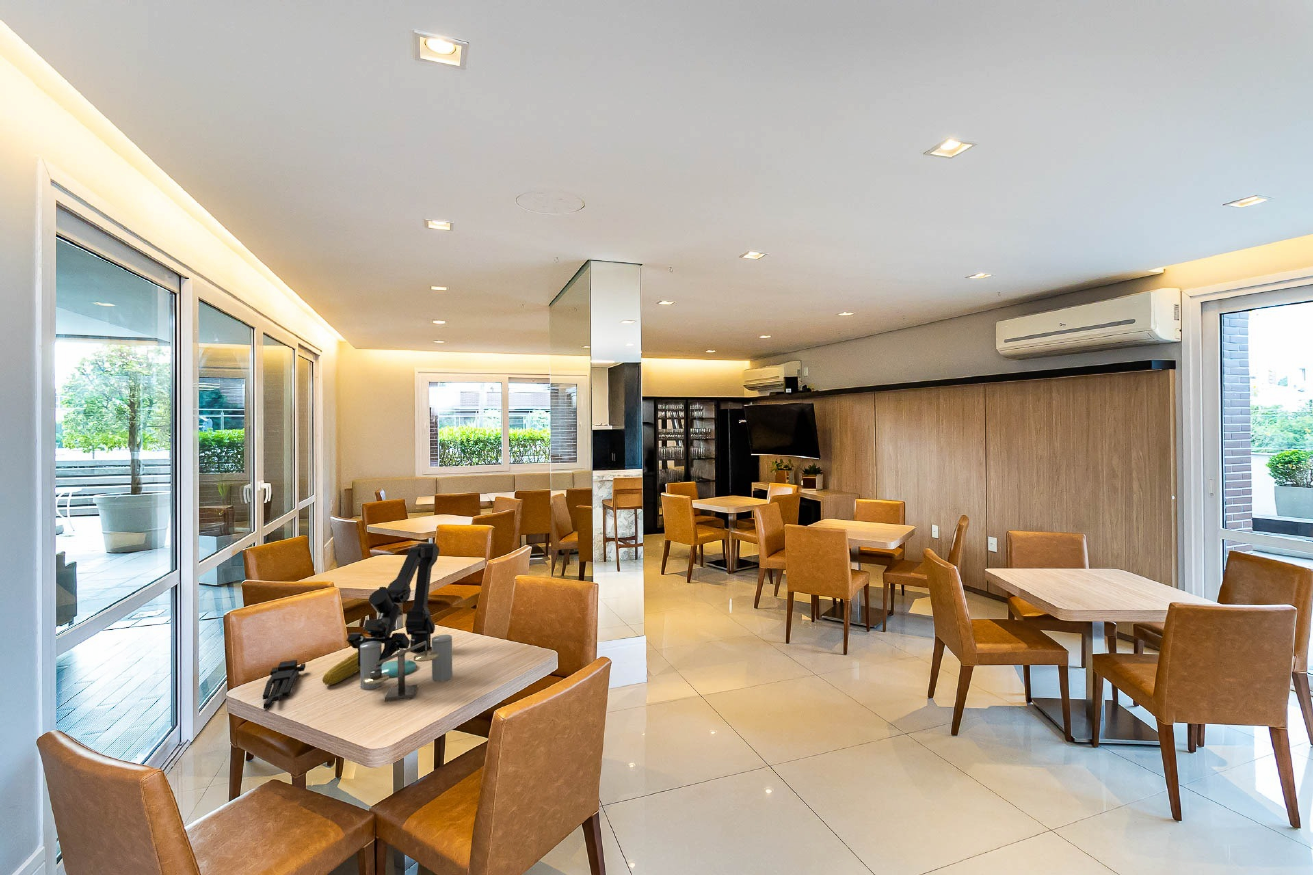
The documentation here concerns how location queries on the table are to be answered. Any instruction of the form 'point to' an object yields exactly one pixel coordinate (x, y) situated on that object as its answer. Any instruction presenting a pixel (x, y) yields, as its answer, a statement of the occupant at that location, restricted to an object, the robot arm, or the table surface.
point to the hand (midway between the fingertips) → (368, 666)
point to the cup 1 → (369, 661)
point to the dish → (392, 668)
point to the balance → (399, 674)
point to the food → (342, 670)
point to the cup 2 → (442, 658)
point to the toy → (281, 681)
